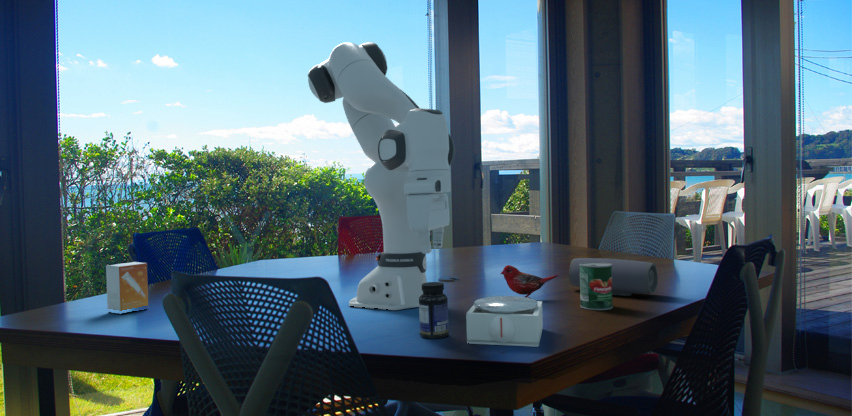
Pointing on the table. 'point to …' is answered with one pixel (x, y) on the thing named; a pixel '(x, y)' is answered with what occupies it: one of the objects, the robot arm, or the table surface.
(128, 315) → the table surface
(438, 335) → the pill bottle
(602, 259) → the bluetooth speaker
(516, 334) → the scale housing
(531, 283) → the decorative bird figurine
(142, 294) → the small box
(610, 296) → the canned tomato
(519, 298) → the scale pan
